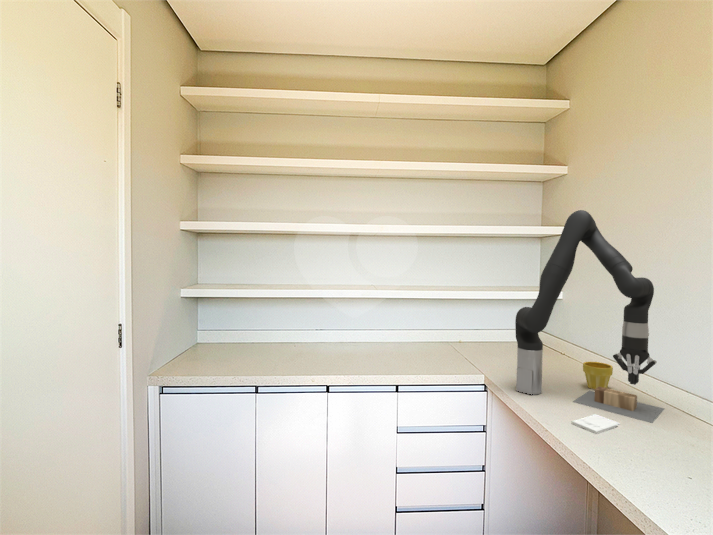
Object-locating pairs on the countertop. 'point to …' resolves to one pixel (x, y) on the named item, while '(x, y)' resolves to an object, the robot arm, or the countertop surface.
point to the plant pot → (597, 374)
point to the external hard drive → (595, 423)
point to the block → (616, 398)
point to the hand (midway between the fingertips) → (633, 383)
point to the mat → (640, 413)
